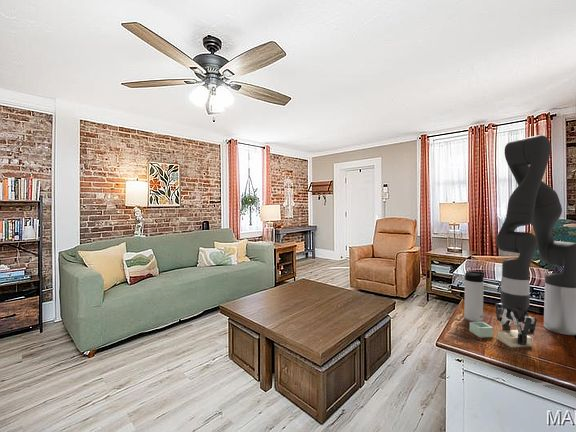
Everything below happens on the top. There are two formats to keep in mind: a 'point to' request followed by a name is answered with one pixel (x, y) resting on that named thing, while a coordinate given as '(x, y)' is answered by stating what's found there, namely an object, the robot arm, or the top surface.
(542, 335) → the top surface
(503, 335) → the lid
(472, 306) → the travel mug
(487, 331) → the mint green open box
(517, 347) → the mat
